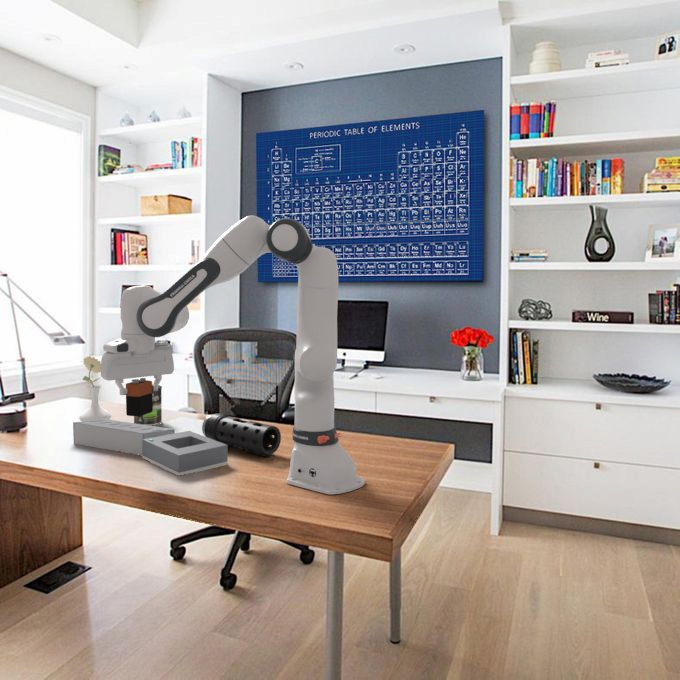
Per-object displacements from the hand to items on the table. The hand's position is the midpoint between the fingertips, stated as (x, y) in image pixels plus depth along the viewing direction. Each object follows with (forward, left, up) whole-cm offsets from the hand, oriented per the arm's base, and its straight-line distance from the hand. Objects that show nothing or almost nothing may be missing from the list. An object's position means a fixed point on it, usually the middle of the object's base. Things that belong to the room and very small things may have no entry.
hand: (139, 392), depth 165 cm
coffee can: (+52, -28, -23) cm, 63 cm away
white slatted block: (+30, -9, -23) cm, 39 cm away
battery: (0, 0, -6) cm, 6 cm away
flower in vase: (+68, -14, -23) cm, 73 cm away
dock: (0, -14, -23) cm, 27 cm away
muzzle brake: (0, -34, -23) cm, 41 cm away
